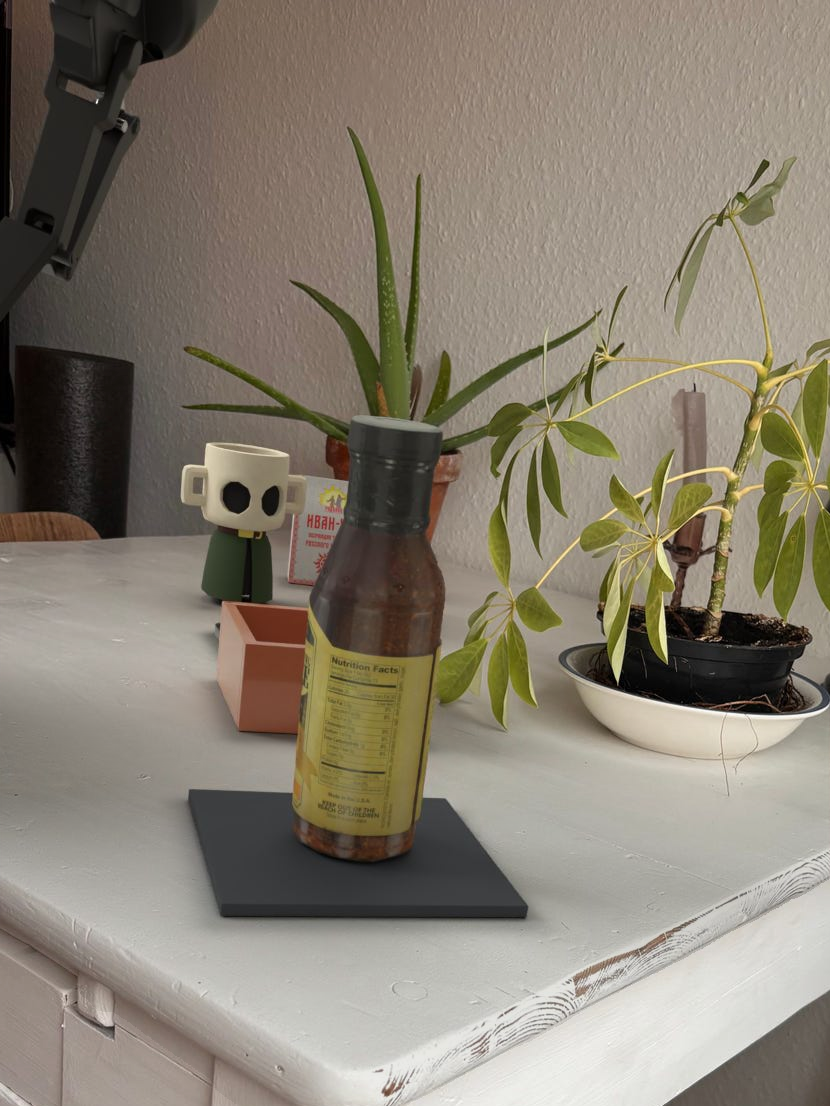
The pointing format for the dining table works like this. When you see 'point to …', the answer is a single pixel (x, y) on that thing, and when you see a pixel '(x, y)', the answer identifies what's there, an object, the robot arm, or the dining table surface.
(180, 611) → the dining table surface
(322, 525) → the white red box
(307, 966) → the dining table surface
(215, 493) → the character mug
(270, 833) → the mat
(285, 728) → the holder
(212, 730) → the dining table surface
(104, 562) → the dining table surface
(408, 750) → the sauce bottle
